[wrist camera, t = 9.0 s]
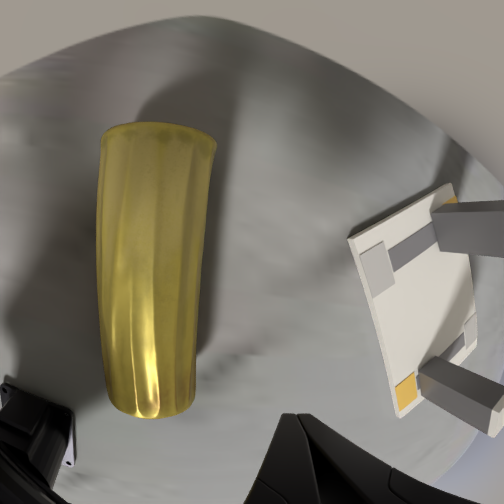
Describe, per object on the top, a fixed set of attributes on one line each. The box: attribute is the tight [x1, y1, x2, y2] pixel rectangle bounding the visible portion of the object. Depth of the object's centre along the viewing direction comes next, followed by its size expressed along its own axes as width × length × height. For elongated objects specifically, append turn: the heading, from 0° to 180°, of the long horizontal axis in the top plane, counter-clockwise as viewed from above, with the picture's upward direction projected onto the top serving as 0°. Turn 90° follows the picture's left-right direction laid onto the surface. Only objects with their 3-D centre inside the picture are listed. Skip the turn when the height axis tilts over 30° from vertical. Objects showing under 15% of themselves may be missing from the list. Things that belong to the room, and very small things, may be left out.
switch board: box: [347, 183, 478, 419], centre depth 23 cm, size 13×19×1 cm
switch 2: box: [418, 356, 504, 438], centre depth 18 cm, size 2×4×10 cm
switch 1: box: [430, 200, 504, 258], centre depth 17 cm, size 2×4×10 cm
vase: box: [96, 122, 217, 419], centre depth 15 cm, size 6×6×14 cm
